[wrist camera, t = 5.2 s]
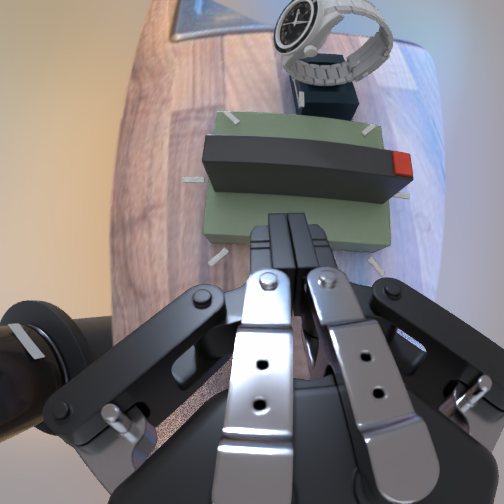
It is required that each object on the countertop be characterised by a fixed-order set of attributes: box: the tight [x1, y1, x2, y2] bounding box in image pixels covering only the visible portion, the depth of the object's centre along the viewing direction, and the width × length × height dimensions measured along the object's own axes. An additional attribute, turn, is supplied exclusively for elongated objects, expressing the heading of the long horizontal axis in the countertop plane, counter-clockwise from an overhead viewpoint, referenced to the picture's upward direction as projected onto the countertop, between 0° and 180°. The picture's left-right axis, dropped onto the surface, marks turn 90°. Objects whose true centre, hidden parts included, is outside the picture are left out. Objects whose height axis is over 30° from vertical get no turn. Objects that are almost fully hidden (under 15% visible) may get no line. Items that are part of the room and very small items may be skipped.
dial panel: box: [183, 91, 410, 276], centre depth 20 cm, size 15×15×3 cm
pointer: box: [202, 135, 413, 204], centre depth 16 cm, size 11×2×5 cm, turn 86°
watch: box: [273, 0, 393, 121], centre depth 17 cm, size 6×8×11 cm
